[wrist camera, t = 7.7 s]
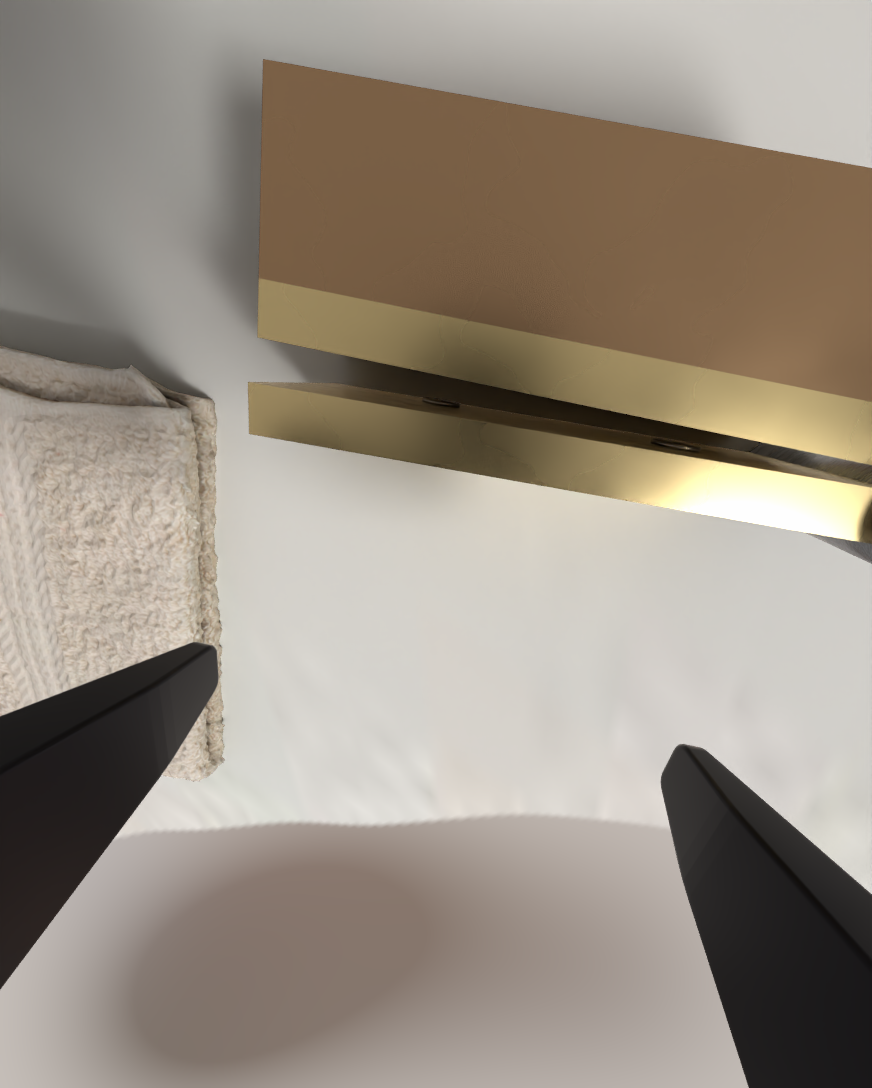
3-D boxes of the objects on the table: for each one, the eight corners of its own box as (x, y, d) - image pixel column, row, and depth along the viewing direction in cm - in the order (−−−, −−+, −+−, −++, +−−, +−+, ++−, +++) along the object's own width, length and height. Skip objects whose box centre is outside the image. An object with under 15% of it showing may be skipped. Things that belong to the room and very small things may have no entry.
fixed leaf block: (803, 281, 11) (1050, 200, 6) (732, 435, 12) (883, 467, 7) (357, 195, 11) (262, 59, 6) (342, 354, 13) (257, 336, 8)
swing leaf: (844, 438, 11) (1128, 480, 6) (800, 523, 12) (1015, 619, 7) (337, 354, 12) (231, 334, 7) (333, 441, 13) (236, 476, 8)
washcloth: (229, 376, 14) (160, 374, 11) (240, 756, 21) (199, 816, 18) (-94, 318, 14) (-238, 301, 11) (20, 705, 21) (-53, 756, 18)
